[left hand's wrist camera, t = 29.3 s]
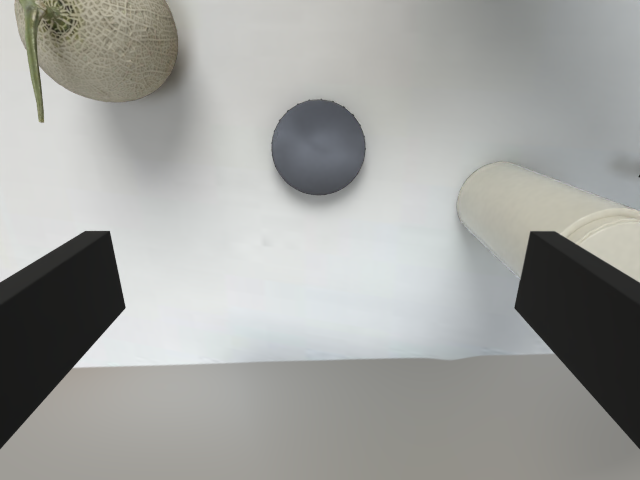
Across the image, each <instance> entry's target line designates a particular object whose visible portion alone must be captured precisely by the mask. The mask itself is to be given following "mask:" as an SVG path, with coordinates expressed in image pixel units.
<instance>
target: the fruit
mask: <svg viewBox="0 0 640 480" xmlns="http://www.w3.org/2000/svg"><path fill="white" fill-rule="evenodd" d="M14 5H15V15H16V20H17V25H18V31H19V35H20V37H21V40H22V42H23V44H24V47H25V49H26V50H27V55H28V62H29V68H30V74H31V80H32V84H33V89H34V93H35V98H36V102H37V110H38V118H39V122H44V110H43V100H42V89H41V80H40V72H39V66H40V67H41V68H42V69H43V71H44V72H45V73H46V74H47V75H49V76H50V77H51V78H52V79H53V80H54V81H55V82H57V83H58V84H59V85H62V86H63V87H64V88H66V89H68V90H69V91H71V92H73V93H76V94H78V95H81V96H84V97H87V98H90V99H94V100H99V101H104V102H126V101H132V100H136V99H140V98H143V97H145V96H147V95H149V94H151V93H152V92H154V91H155V90H157V89H158V88H159V87H161V85H162V84H163V83H164V82H165V80H166V79H167V78H168V77H169V75H170V74H171V71H172V69H173V68H174V64H175V61H176V58H177V52H178V37H177V29H176V26H175V22H174V19H173V16H172V13H171V11H170V9H169V7H168V5H167V3H166V1H165V0H15V4H14Z"/></svg>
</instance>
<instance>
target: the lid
mask: <svg viewBox="0 0 640 480" xmlns="http://www.w3.org/2000/svg"><path fill="white" fill-rule="evenodd" d="M360 126H361V125H360V124H359V123H358V121H357V120H356V119H355V117H354V115H353V114H351V113H350V112H349V111H348V110H347V109H345V107H344V106H343V107H342V106H341V105H339V104H337V103H334V101H332V102H331V101H327V100H322V99H321V100H309V101H306V102H303V103H300V104H299V103H298V104H297V105H296V106H295V107H293V108H292V109H290V110H288V111H287V113H286V114H285V115H284V116H283V117H282V118H281V119H280V120H279V123H278V125H277V127H276V129H275V130H274V135H273V139H272V143H271V144H272V156H273V160H274V164H275V167H276V168H277V170H278V172H279V174H280V175H281V177H282V178H283V179H284V180H285V181H286V182H287V183H288V184H289V185H290V186H292V187H293V188H295V189H296V190H299V191H301V192H303V193H306V194H311V195H326V194H331V193H334V192H336V191H339V190H341V189H342V188H344V187H345V186H347V185H348V184H349V183H350V182H351V181H352V180H353V179H354V178H355V177H356V175H357V174H358V172H359V170H360V168H361V166H362V164H363V161H364V156H365V149H366V148H365V139H364V137H365V136H364V135H363V131H362V129H361V127H360Z"/></svg>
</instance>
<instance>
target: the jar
mask: <svg viewBox="0 0 640 480" xmlns="http://www.w3.org/2000/svg"><path fill="white" fill-rule="evenodd" d="M457 212H458V216H459V219H460V221H461V223H462V224H463V226H464V227H465V228H466V229H467V230H468V231H469V232H470V233H471V234H472V235H473V236H474V237H475V238H477V239H478V240H479V241H480V242H481V243H482V244H483V245H484V246H485V247H486V248H487V249H488V250H489V251H490V252H491V253H492V254H493V255H494V256H495V257H496V258H497V259H499V260H500V261H501V262H502V263H503V264H504V265H505V266H506V267H507V268H508V269H509V270H510V271H511V272H512V273H513V274H514V275H515V276H516V277H517V278H518V279H519V280H520V279H521V274H522V269H523V264H524V259H525V254H526V249H527V245H528V240H529V235H530V231H555V232H557V233H559V234H560V235H562V236H564V237H565V238H567V239H569V240H570V241H572V242H574V243H575V244H577V245H579V246H580V247H582V248H584V249H585V250H587V251H588V252H590V253H592V254H593V255H595V256H597V257H598V258H600V259H602V260H603V261H605V262H607V263H608V264H610V265H612V266H613V267H615V268H617V269H618V270H620V271H622V272H623V273H625V274H627V275H628V276H630V277H631V278H633V279H635V280H636V281H638V282H640V211H638V210H636V209H633V208H630V207H628V206H625V205H623V204H620V203H617V202H615V201H612V200H609V199H607V198H604V197H602V196H599V195H596V194H594V193H591V192H589V191H586V190H583V189H581V188H578V187H575V186H573V185H570V184H568V183H565V182H562V181H560V180H557V179H554V178H552V177H549V176H547V175H544V174H541V173H539V172H536V171H533V170H531V169H528V168H526V167H523V166H520V165H518V164H515V163H511V162H495V163H491V164H488V165H485V166H483V167H481V168H480V169H478V170H477V171H475V172H474V173H473V174H472V175H471V176H470V177H469V178H468V179H467V180H466V181H465V183H464V184H463V186H462V188H461V190H460V192H459V196H458V200H457Z"/></svg>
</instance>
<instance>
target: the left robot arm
mask: <svg viewBox="0 0 640 480" xmlns="http://www.w3.org/2000/svg"><path fill="white" fill-rule="evenodd" d="M124 309H125V303H124V298H123V293H122V288H121V283H120V279H119V274H118V269H117V264H116V259H115V254H114V249H113V245H112V240H111V235H110V231H85V232H83V233H81V234H80V235H78V236H76V237H75V238H73V239H71V240H70V241H68V242H66V243H65V244H63V245H61V246H60V247H58V248H56V249H55V250H53V251H52V252H50V253H48V254H47V255H45V256H43V257H42V258H40V259H38V260H37V261H35V262H33V263H32V264H30V265H28V266H27V267H25V268H23V269H22V270H20V271H18V272H17V273H15V274H13V275H12V276H10V277H9V278H7V279H5V280H4V281H2V282H0V449H1V448H2V447H3V445H4V444H5V443H6V442H7V441H8V440H9V439H10V438H11V436H12V435H13V434H14V433H15V432H16V431H17V430H18V428H19V427H20V426H21V425H22V424H23V423H24V422H25V421H26V420H27V418H28V417H29V416H30V415H31V414H32V413H33V412H34V411H35V409H36V408H37V407H38V406H39V405H40V404H41V403H42V402H43V400H44V399H45V398H46V397H47V396H48V395H49V394H50V392H51V391H52V390H53V389H54V388H55V387H56V386H57V385H58V383H59V382H60V381H61V380H62V379H63V378H64V377H65V376H66V374H67V373H68V372H69V371H70V370H71V369H72V368H73V367H74V365H75V364H76V363H77V362H78V361H79V360H80V359H81V358H82V356H83V355H84V354H85V353H86V352H87V351H88V350H89V349H90V347H91V346H92V345H93V344H94V343H95V342H96V341H97V340H98V338H99V337H100V336H101V335H102V334H103V333H104V332H105V331H106V329H107V328H108V327H109V326H110V325H111V324H112V323H113V322H114V320H115V319H116V318H117V317H118V316H119V315H120V314H121V313H122V311H123V310H124ZM515 309H516V310H517V311H518V313H519V314H520V315H521V316H522V317H523V318H524V319H525V320H526V322H527V323H528V324H529V325H530V326H531V327H532V328H533V329H534V331H535V332H536V333H537V334H538V335H539V336H540V337H541V338H542V340H543V341H544V342H545V343H546V344H547V345H548V346H549V347H550V349H551V350H552V351H553V352H554V353H555V354H556V355H557V356H558V358H559V359H560V360H561V361H562V362H563V363H564V364H565V365H566V367H567V368H568V369H569V370H570V371H571V372H572V373H573V374H574V376H575V377H576V378H577V379H578V380H579V381H580V382H581V383H582V385H583V386H584V387H585V388H586V389H587V390H588V391H589V392H590V394H591V395H592V396H593V397H594V398H595V399H596V400H597V401H598V403H599V404H600V405H601V406H602V407H603V408H604V409H605V411H606V412H607V413H608V414H609V415H610V416H611V417H612V418H613V420H614V421H615V422H616V423H617V424H618V425H619V426H620V427H621V429H622V430H623V431H624V432H625V433H626V434H627V435H628V436H629V438H630V439H631V440H632V441H633V442H634V443H635V444H636V445H637V447H638V448H639V449H640V282H638V281H636V280H635V279H633V278H631V277H630V276H628V275H627V274H625V273H623V272H622V271H620V270H618V269H617V268H615V267H613V266H612V265H610V264H608V263H607V262H605V261H603V260H602V259H600V258H598V257H597V256H595V255H593V254H592V253H590V252H588V251H587V250H585V249H584V248H582V247H580V246H579V245H577V244H575V243H574V242H572V241H570V240H569V239H567V238H565V237H564V236H562V235H560V234H559V233H557V232H555V231H530V235H529V240H528V245H527V249H526V254H525V259H524V264H523V269H522V274H521V279H520V283H519V288H518V293H517V298H516V303H515Z"/></svg>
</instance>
